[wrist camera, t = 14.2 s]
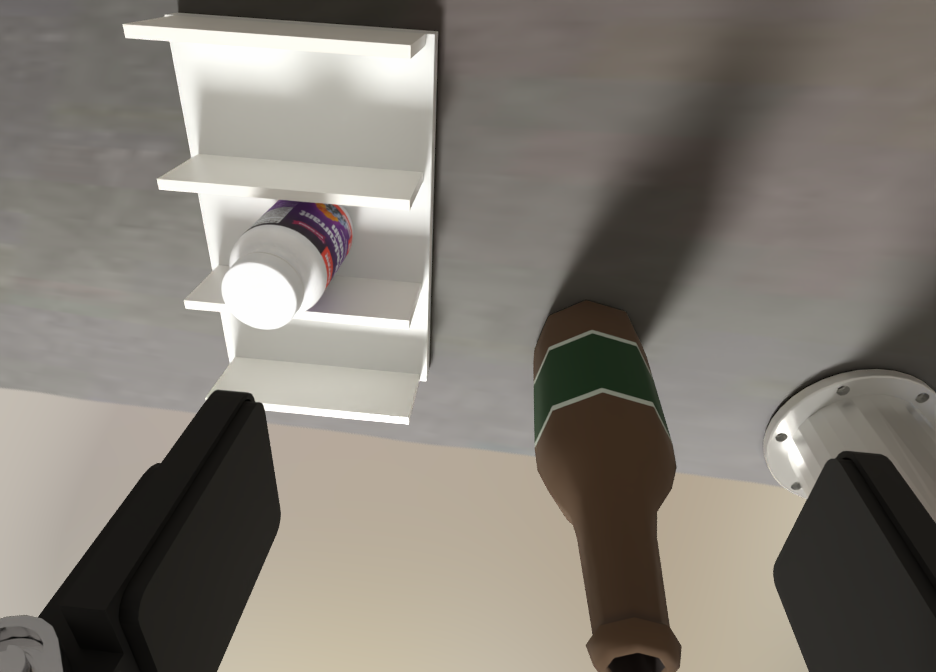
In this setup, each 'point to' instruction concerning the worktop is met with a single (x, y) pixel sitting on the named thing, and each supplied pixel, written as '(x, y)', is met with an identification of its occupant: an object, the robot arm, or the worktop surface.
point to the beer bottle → (608, 477)
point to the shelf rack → (315, 196)
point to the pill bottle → (286, 262)
